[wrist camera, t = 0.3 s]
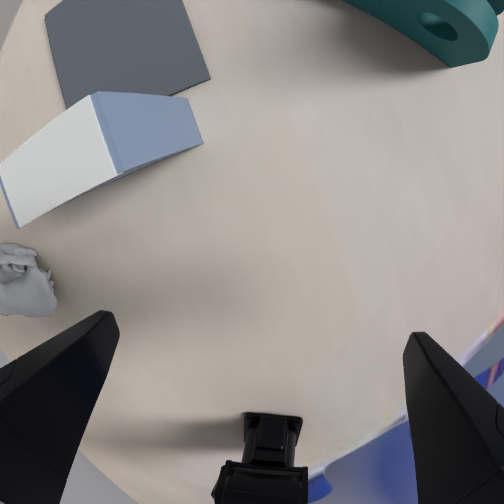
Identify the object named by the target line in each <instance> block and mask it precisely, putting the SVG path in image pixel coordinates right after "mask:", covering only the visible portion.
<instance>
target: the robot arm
mask: <svg viewBox="0 0 504 504" xmlns="http://www.w3.org/2000/svg"><path fill="white" fill-rule="evenodd" d="M119 336H120V332H119V328H118V325H117V323H116V320H115V317H114V314H113V313H112V312H110V311H104V310H100V311H98V312H96V313H94V314H93V315H91V316H89V317H87V318H86V319H84V320H82V321H80V322H79V323H77V324H75V325H73V326H72V327H70V328H68V329H67V330H65V331H63V332H61V333H60V334H58V335H56V336H54V337H53V338H51V339H49V340H48V341H46V342H44V343H42V344H41V345H39V346H37V347H36V348H34V349H32V350H31V351H29V352H27V353H25V354H24V355H22V356H20V357H19V358H17V359H15V360H14V361H12V362H10V363H9V364H7V365H5V366H4V367H2V368H0V504H59V503H60V500H61V497H62V494H63V491H64V488H65V485H66V481H67V480H66V479H67V478H68V475H69V472H70V469H71V466H72V464H73V461H74V458H75V455H76V453H77V450H78V447H79V444H80V442H81V439H82V436H83V434H84V431H85V429H86V426H87V423H88V421H89V418H90V416H91V413H92V411H93V408H94V406H95V404H96V401H97V399H98V396H99V394H100V391H101V389H102V387H103V384H104V382H105V380H106V377H107V374H108V371H109V368H110V365H111V362H112V359H113V356H114V352H115V349H116V346H117V343H118V340H119ZM403 366H404V378H405V392H406V404H407V411H408V417H409V423H410V430H411V437H412V444H413V452H414V459H415V470H416V480H417V491H418V504H504V408H503V407H502V406H501V405H500V404H498V402H497V401H496V400H495V399H494V398H493V397H492V396H491V395H490V394H489V393H488V392H487V391H486V390H485V389H484V388H483V387H482V386H481V385H480V384H479V383H478V382H477V381H476V380H475V379H474V378H473V377H472V376H471V375H470V374H469V373H468V372H467V371H466V370H465V369H464V368H463V367H462V366H461V365H460V364H459V363H458V362H457V361H456V360H455V359H454V358H453V357H452V356H450V355H449V354H448V353H447V352H446V351H445V350H444V349H443V348H442V347H441V346H440V345H439V344H438V343H437V342H436V341H434V340H433V339H432V338H431V337H430V336H429V335H428V334H427V333H426V332H412V333H411V335H410V337H409V339H408V342H407V345H406V347H405V350H404V353H403ZM302 423H303V419H302V418H300V417H287V416H275V415H265V414H256V413H246V414H245V418H244V442H245V447H244V452H243V457H242V462H241V463H240V462H233V461H231V460H227V461H226V464H225V465H224V466H222V467H221V471H220V475H219V478H218V480H217V482H216V484H215V486H214V488H213V490H212V493H211V496H212V498H213V499H214V502H215V504H307V502H308V467H294V457H295V447H296V445H297V442H298V438H299V435H300V431H301V427H302Z"/></svg>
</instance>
